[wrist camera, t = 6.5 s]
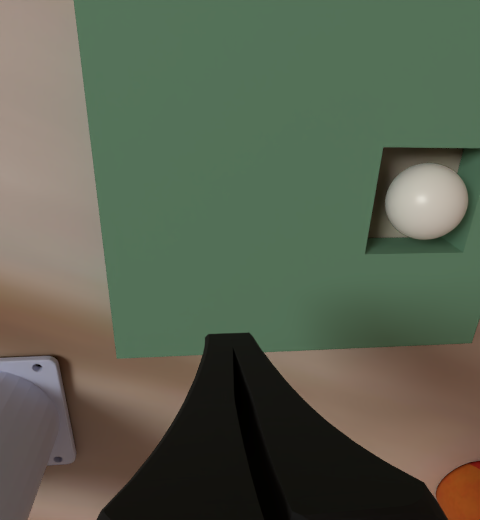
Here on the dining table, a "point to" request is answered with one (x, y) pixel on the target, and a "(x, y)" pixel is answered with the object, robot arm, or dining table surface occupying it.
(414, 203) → the ball
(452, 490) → the paper cup
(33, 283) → the dining table surface
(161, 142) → the putting deck
